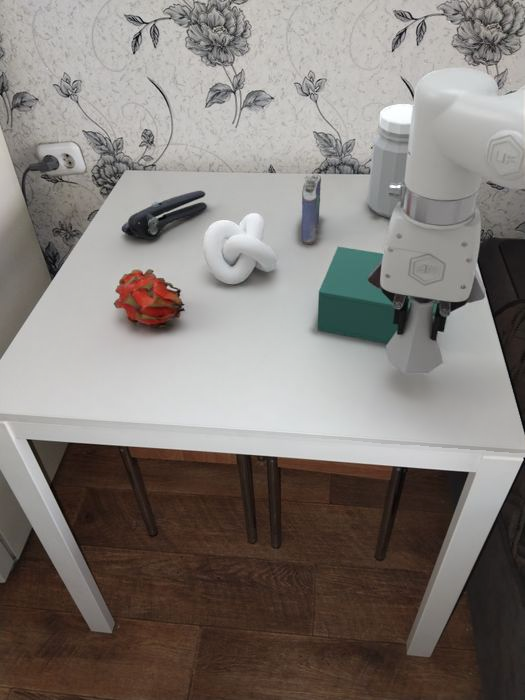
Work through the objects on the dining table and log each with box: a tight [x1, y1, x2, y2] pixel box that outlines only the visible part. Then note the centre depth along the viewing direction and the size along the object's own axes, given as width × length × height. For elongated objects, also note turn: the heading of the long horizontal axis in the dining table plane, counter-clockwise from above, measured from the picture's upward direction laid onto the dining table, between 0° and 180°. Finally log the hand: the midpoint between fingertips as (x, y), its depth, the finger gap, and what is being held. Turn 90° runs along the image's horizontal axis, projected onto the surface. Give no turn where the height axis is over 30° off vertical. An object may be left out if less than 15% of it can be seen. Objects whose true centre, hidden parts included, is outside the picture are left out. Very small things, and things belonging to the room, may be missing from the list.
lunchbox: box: [316, 294, 408, 345], centre depth 88 cm, size 16×12×7 cm
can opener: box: [121, 190, 208, 240], centre depth 109 cm, size 18×7×6 cm, turn 131°
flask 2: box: [301, 173, 322, 245], centre depth 104 cm, size 9×3×11 cm, turn 170°
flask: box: [385, 296, 444, 375], centre depth 74 cm, size 7×7×10 cm
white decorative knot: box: [202, 212, 278, 285], centre depth 97 cm, size 11×12×9 cm
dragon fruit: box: [113, 269, 186, 328], centre depth 90 cm, size 8×8×12 cm
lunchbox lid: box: [318, 246, 439, 317], centre depth 84 cm, size 16×12×5 cm
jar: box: [367, 103, 413, 219], centre depth 106 cm, size 10×10×18 cm
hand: (418, 329), depth 74 cm, fingers closed on flask, 3 cm apart
